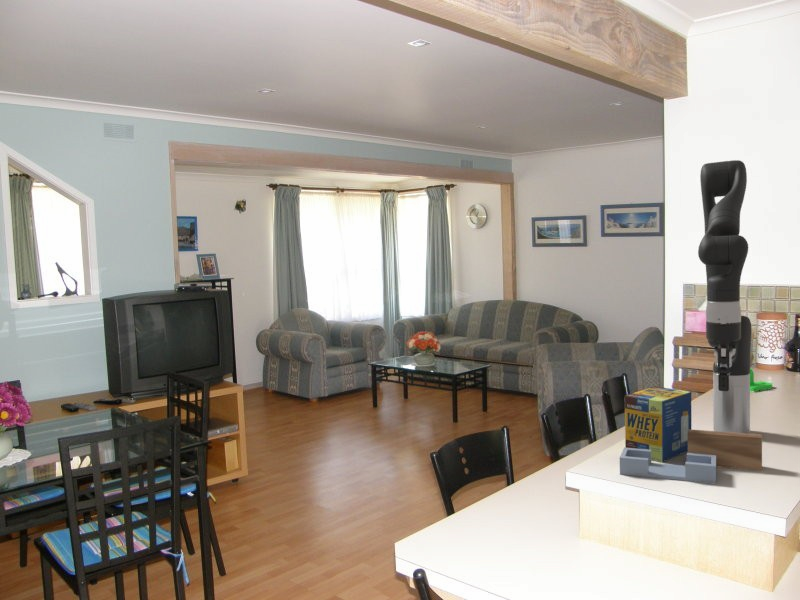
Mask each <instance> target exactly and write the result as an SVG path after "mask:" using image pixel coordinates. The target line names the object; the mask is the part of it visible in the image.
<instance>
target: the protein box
mask: <svg viewBox="0 0 800 600" xmlns="http://www.w3.org/2000/svg"><path fill="white" fill-rule="evenodd" d="M688 429H691V430H692V392H691V391H687V390H680V389H676V388H667V387H663V386H656V385H654V386H651V387H648V388H645V389H642V390H640V391H639V390H638V391H636V392H633V393H628V394H625V395H624V438H625V439H624V440H625V441H624V442H625V447H624V448H636V449H647V450H651V461H656V462H660V463H664V462H665V461H668V460H670V459H674V458H675V457H677V456H680V455H682V454H684V453H687V452H688Z"/></svg>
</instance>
